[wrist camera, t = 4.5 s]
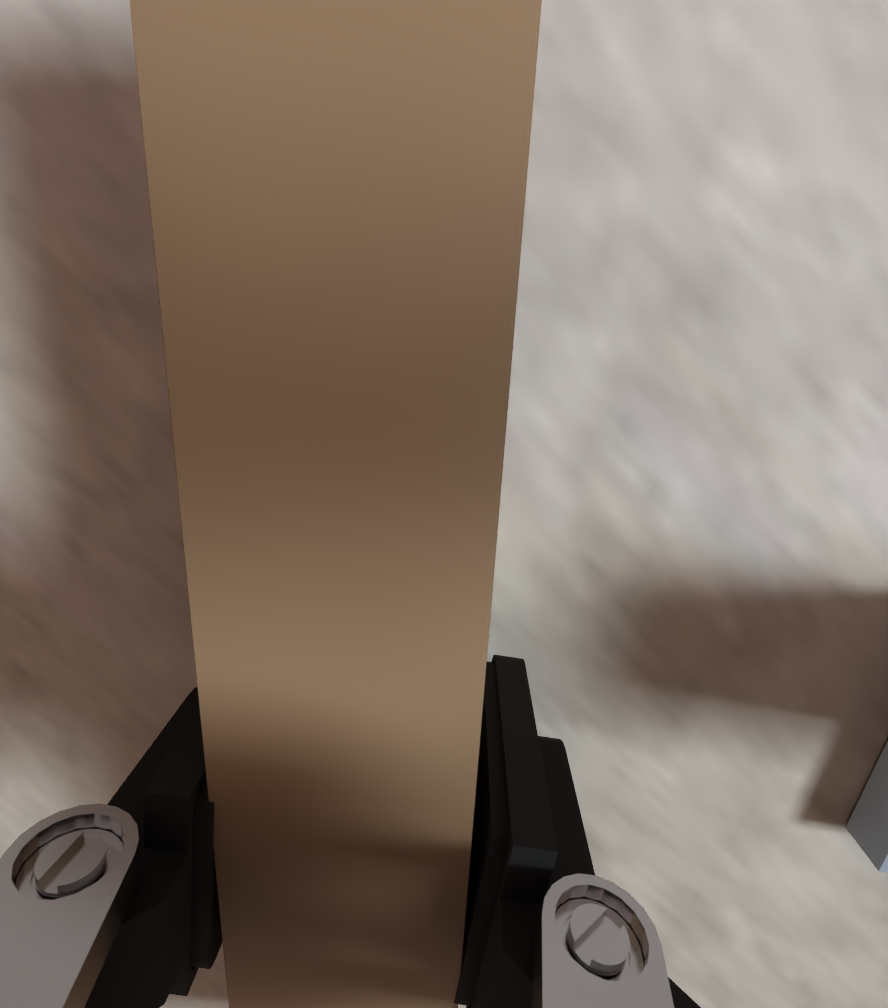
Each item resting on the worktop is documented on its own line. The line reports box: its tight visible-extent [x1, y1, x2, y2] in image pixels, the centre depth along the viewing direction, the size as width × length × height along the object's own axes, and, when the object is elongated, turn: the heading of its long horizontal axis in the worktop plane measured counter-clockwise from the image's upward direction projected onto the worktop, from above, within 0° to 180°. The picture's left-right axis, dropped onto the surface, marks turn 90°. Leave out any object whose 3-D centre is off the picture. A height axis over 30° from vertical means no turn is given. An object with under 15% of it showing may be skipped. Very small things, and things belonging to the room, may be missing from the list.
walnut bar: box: [130, 0, 542, 1008], centre depth 9 cm, size 20×3×4 cm, turn 177°
